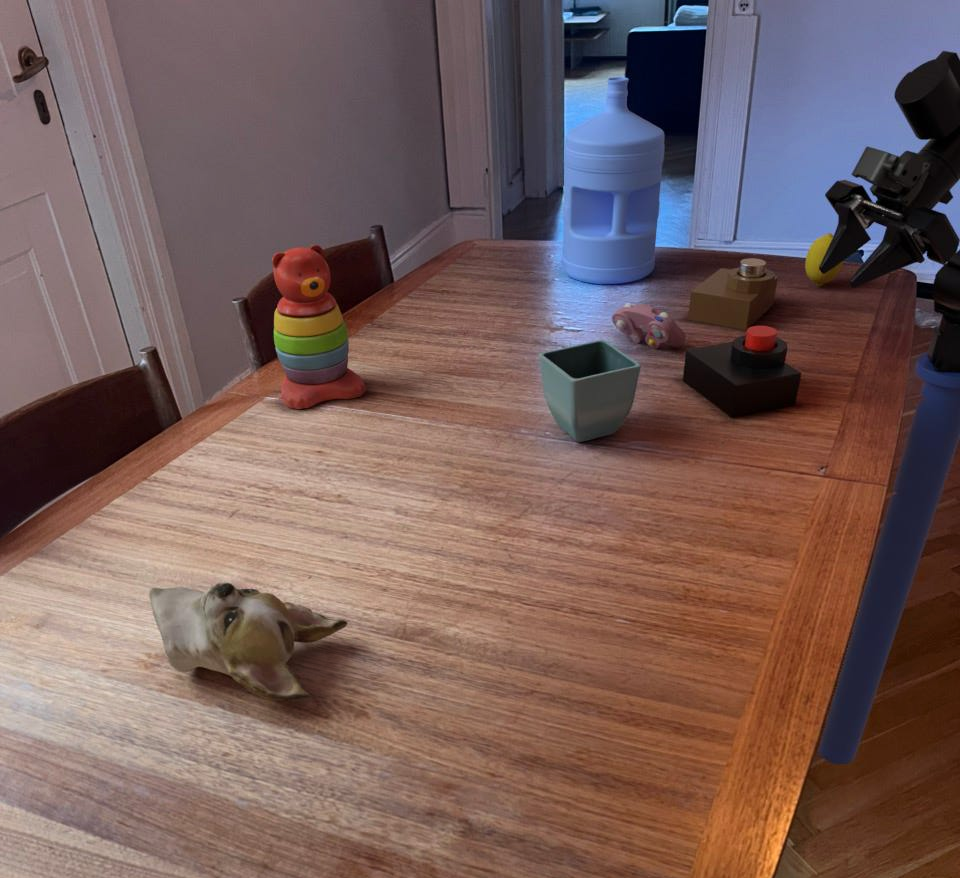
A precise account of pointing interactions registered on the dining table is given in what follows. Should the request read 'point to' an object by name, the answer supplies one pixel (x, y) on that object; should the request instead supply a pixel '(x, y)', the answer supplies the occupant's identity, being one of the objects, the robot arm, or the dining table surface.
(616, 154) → the water jug
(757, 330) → the red button
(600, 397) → the flower pot
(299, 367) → the stacking bear
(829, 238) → the lemon
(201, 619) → the ceramic sculpture
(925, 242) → the robot arm
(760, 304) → the far box
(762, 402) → the near box
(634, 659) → the dining table surface
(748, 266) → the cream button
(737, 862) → the dining table surface
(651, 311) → the video game controller
